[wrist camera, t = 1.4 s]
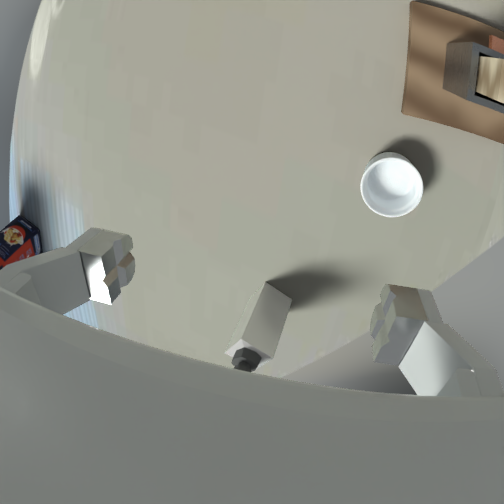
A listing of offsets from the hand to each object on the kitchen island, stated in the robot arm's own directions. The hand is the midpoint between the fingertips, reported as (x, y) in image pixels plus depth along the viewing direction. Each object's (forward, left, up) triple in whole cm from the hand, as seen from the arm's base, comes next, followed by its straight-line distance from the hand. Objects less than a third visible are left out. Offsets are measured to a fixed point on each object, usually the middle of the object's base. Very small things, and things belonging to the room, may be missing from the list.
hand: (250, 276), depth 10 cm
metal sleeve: (-9, +17, -35) cm, 40 cm away
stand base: (-8, +17, -37) cm, 42 cm away
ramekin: (+10, +9, -37) cm, 40 cm away
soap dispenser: (+40, -7, -37) cm, 55 cm away
